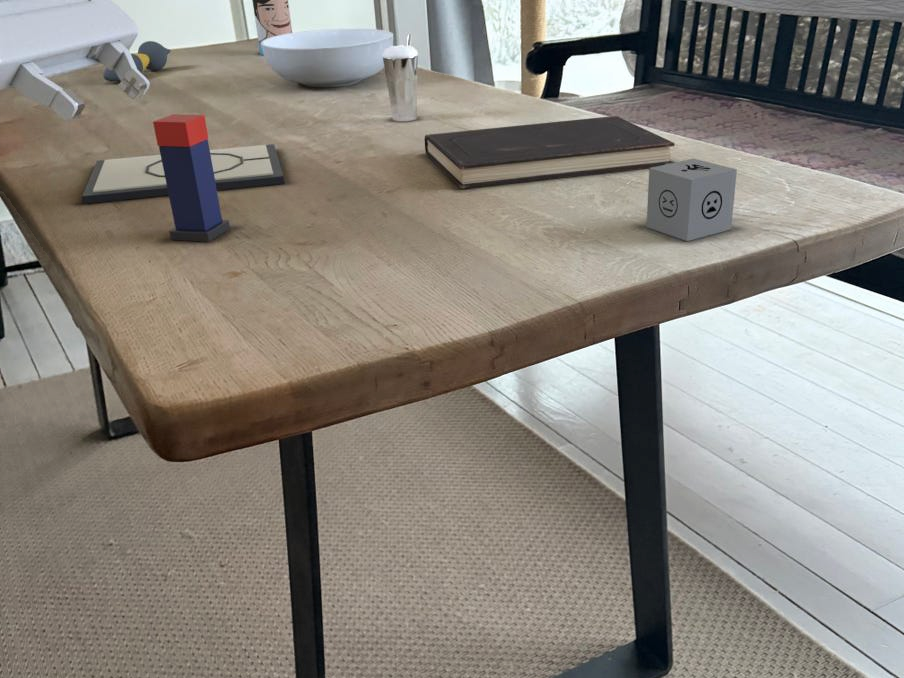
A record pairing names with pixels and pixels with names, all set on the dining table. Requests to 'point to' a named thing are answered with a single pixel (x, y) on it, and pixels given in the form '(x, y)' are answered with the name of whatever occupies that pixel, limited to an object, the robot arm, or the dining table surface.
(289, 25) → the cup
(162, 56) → the paintbrush
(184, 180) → the blue and red block
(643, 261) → the dining table surface
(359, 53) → the serving bowl
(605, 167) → the hardcover book
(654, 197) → the dice cube
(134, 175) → the beige flat board
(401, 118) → the milkshake
